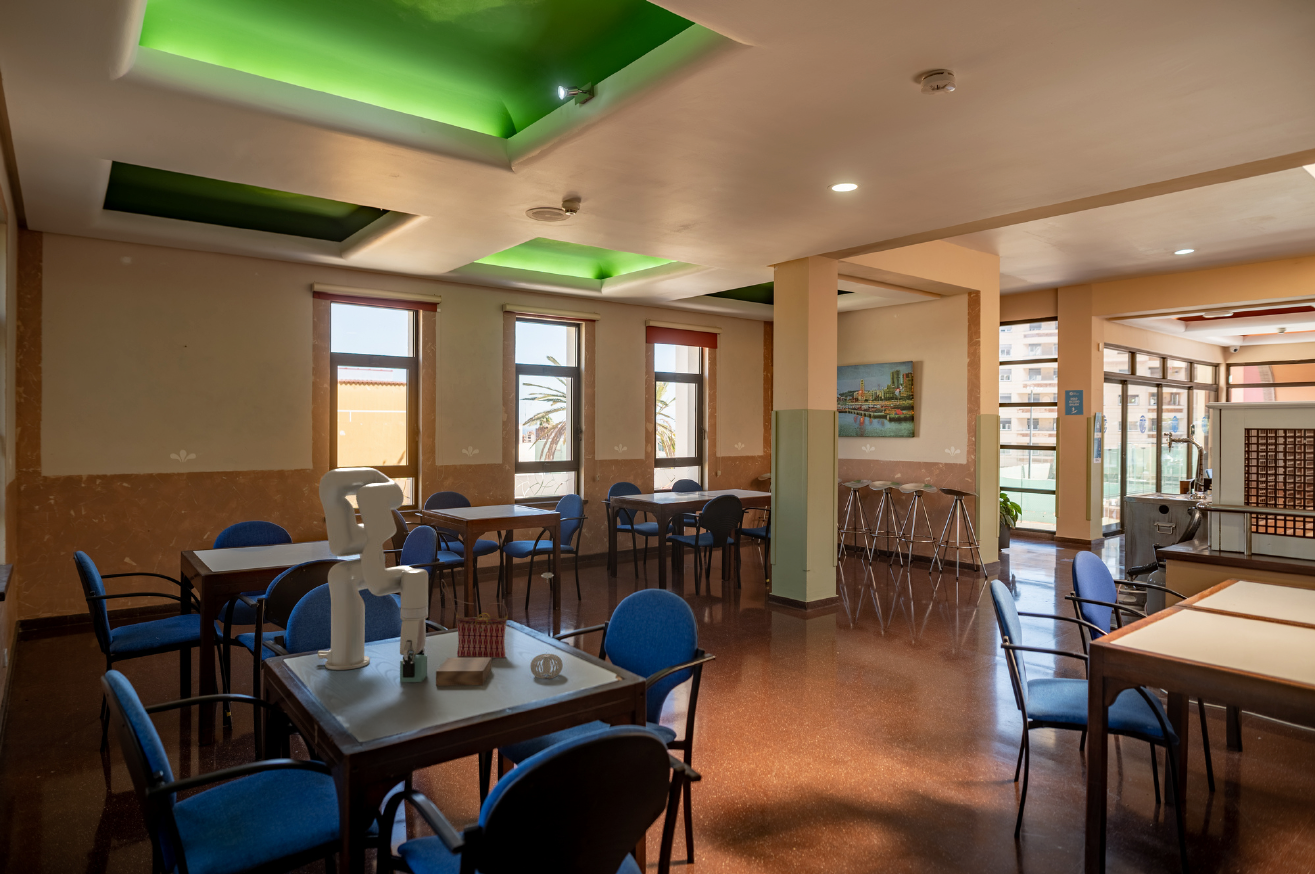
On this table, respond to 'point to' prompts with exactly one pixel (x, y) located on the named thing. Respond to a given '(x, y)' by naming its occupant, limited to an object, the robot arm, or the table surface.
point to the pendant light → (546, 658)
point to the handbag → (480, 635)
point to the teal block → (416, 669)
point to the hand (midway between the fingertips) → (413, 671)
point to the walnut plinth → (463, 671)
